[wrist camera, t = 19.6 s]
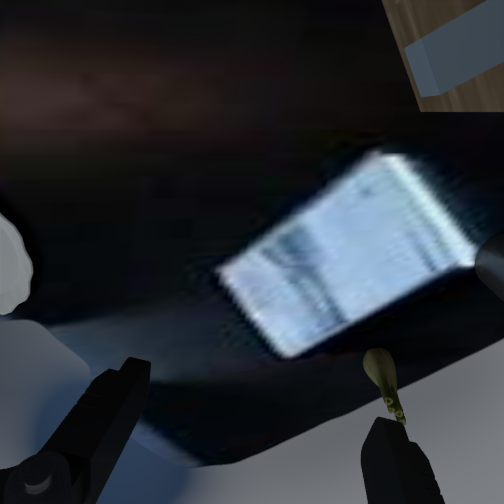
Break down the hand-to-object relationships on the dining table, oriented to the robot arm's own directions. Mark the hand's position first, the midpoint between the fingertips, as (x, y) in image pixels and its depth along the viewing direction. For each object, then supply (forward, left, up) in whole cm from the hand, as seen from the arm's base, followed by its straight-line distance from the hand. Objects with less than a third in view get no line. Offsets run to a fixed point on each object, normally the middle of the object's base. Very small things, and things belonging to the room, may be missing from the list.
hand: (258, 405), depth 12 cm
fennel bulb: (-22, +26, -40) cm, 53 cm away
